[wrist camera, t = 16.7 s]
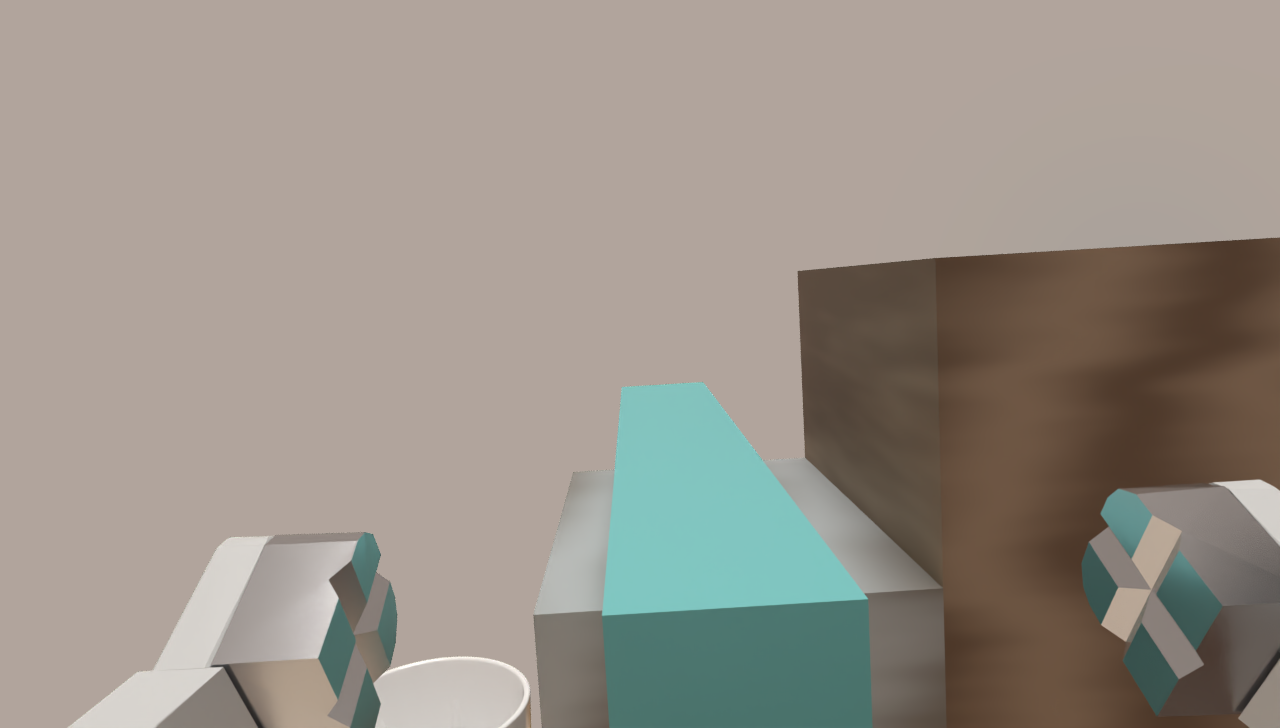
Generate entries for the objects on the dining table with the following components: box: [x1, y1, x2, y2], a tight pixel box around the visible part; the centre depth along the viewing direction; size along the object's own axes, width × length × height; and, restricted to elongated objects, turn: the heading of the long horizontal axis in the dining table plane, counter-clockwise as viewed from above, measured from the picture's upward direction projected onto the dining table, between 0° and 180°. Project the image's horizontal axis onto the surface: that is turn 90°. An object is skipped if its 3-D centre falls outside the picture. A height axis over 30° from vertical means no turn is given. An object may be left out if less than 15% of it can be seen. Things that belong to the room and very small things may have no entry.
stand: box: [533, 238, 1280, 728], centre depth 27 cm, size 22×15×26 cm
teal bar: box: [602, 382, 873, 728], centre depth 23 cm, size 4×24×4 cm, turn 1°
